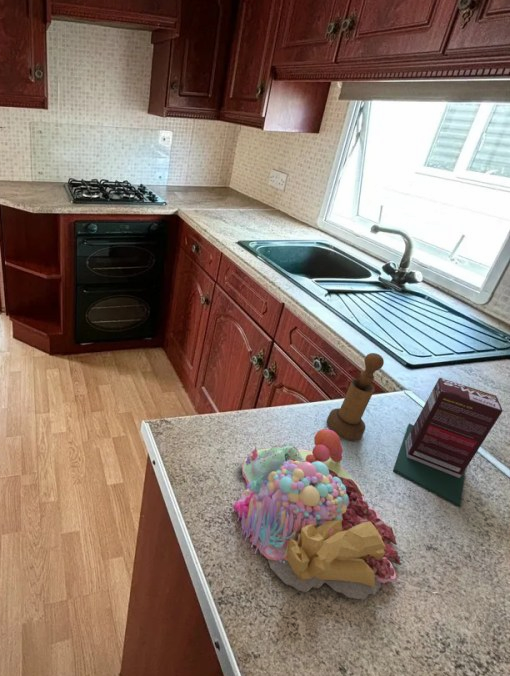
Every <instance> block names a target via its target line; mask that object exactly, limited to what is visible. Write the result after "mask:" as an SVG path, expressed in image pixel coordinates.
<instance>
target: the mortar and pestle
mask: <svg viewBox="0 0 510 676" xmlns="http://www.w3.org/2000/svg"><path fill="white" fill-rule="evenodd" d="M384 363H385V361H384V357H383V356H382V355H380V354H379V353H376V352H370V353H368V354H367V355H365V357H364V366H365V369H364V370H363V371H361V372H360V374H359V378H354V379H351V382H350V385H349V387H348V389H347V392H346V394H345V397H344V399H343V401H342V402H341V405H340V408H339V407H337V408H333V409H331V410H330V412H329V413H328V417H327V419H326V426H327V427H328V429H329V430H332V431H334V432H335V433H337V435H338V436H339V438H340V439H343V440H345V441H349V442H356V441H359V440H361V439H362V437H363V435H364V434H365V431H366V423H365V422H364V420H363V419H362V418H363V415H364V413H365V411H366V409H367V407H368V404H369V402H370V401H371V398H372V396H373V395H374V392H375V390H376V389H375V386H374V385H373V384H372V382H373V381H374V379H375V376H374V373H376V372H377V371H379V370H380V369H382V368H383V366H384Z"/></svg>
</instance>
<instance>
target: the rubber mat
mask: <svg viewBox="0 0 510 676" xmlns="http://www.w3.org/2000/svg"><path fill="white" fill-rule="evenodd" d="M413 426H414V424H411V423H408V425H407V427H406V431H405V433H404V437H403V439H402V443H401V445H400V447H399V451H398V454H397V456H396V457H397V458H396V460H395V464H394V466H393V469H392V472H394V473H396V474H398V475H399V476H402V477H403V478H405V479H407V480H408V481H410V482H412V483H414V484H416V485H417V486H419V487H421V488H424V489H425V490H427V491H428V492H431V493H433V494H435V495H436V496H437V497H440V498H442V499H443V500H445V501H447V502H449V503H451V504H452V505H454V506H457V507H458V508H460V507H461V506H462V497H463V491H464V482H465V480H464V479H465V473H466V470H465V471H464V473H463V474H462V475H461V477H460V478H458V477H455V476H453V475H450V474H448V473H445V472H443V471H440V470H438V469H435V468H433V467H430V466H428V465H425V464H423V463H420V462H418V461H415V460H413V459H410V458H407V454H406V444H405V441H406V439H407V437H408V435H409V433H410V432H411V430H412V428H413Z"/></svg>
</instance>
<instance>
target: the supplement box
mask: <svg viewBox="0 0 510 676" xmlns="http://www.w3.org/2000/svg"><path fill="white" fill-rule="evenodd" d="M501 405H502V404H501V403H500V401H499V398H498V396H497V395H495V394H492V393H489V392H486V391H483V390H480V389H476V388H474V387H470V386H467V385H464V384H461V383H458V382H455V381H452V380H448V379H446V378H442V377H438V379H437V381H436V383H435V385H434V387H433V389H432V391H431V392H430V394H429V396H428V398H427V400H426V402H425V403H424V405H423V407H422V409H421V411H420V412H419V415H418V417H417V419H416V420H415V422H414V424H413V425H414V426H413V428H412V430H411V432H410V433H409V435H408V437H407V439H406V441H405V444H406V454H407V458H410V459H413V460H415V461H418V462H420V463H423V464H425V465H428V466H430V467H433V468H435V469H438V470H440V471H443V472H445V473H448V474H450V475H453V476H455V477H458V478H460V477H461V475H462V474H463V473H464V471H465V472H466V469H467V468H468V466H469V465H470V463H471V462H472V460H473V458H474V457H475V456H476V454H477V452H478V451H479V449H480V447H481V446H482V444H483V443H484V441H485V440H486V438H487V437H488V435H489V433H490V432H491V430H492V429H493V427H494V426H495V424H496V422H497V421H498V420H499V418H500V416H501V414H502V413H503V412H504V411H503V409H502V406H501Z"/></svg>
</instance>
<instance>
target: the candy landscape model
mask: <svg viewBox="0 0 510 676" xmlns="http://www.w3.org/2000/svg"><path fill="white" fill-rule="evenodd" d="M313 442H314V445H315V446H314V447H313V448H312V451H311V450H310V449H309V450H308V449H303V448H296V446H295V445H293V444H292V443H286V444H276V445H273V446H272V447H266V448H259V449H257V446H255V447H254V450H252V452H251V454H250V455H248V456H247V457H246V458H245V459H244V460H243V462H242V466H241V474H242V477H243V479H244V480H245V483H246V486H245V489H244V491H242V492H241V495H240V497H239V498H238V499H237V502H235V503H234V504H233V511H235V513H237V514H238V516H237V522H239V520H240V518H241V521H240V525H241V527H240V528H241V529H242V530H241V532H240V535H241V536H245V539H244V542H245V543H246V542H247V540H248V539H249V543H251V545H250V549H253V547H254V546H255V547H256V548H255V551H254V553H253V554H254V555H256V554H257V553H258V551H259V554H262V556H264V557H265V558H266V559H267V563H268V564H269V567H270V569H271V570H272V572H274V573H275V575H276V576H277V577H278V578H279V579H280V580H281V581H282V582H283V583H284V584H286V585H287V586H292V587H293V588H294V589H295V590H297V591H299V592H304V593H307V592H309V591H310V590H311V589H312V588H315V589H316V588H317V589H320V588H321V587H322V586H323V585H324V584H327V585H328V586H329V587H330V588H331V589H332V590H333V591H334V592H337V593H341V594H343V596H345V597H347V598H350V599H351V598H352V599H356V600H363V601H364V600H365V599H366V598H367V597H368V595H376V594H377V592H378V591H379V589H381V588H382V584H386V583H388V582H389V583H393V582H395V579H396V578H397V573H396V571H395V568H394V566H393V564H396V565H398V566H401V561H400V557H399V554H398V551H397V550H396V548H394V547H393V545H392V544H394V545H396V546H397V545H398V543H397V540H396V537H395V534H394V531H393V528H392V526H388V524H386V523H385V522H384V521H383V520H382V518H381V516H380V514H379V512H377V510H375V509H374V508H372V507H371V506H370V505H369V504H368V502H366V501H365V499H366V498H365V491H363V489H362V488H361V487H360V485H359V484H358V482H357V481H356V480H355V479H354V478H353V477H352V476H351V475H350V473H349V472H348V471H347V470H346V468H345V467H343V466H342V465H341V462H342V460H343V453H344V448H343V446H342V442H341V438H340V437H339V436H338V435H337V433H335V432H334V431H332V430H330V429H329V428H322V429H319V430H318V431H317V432H316V433H315V435H314V437H313ZM391 543H392V544H391ZM392 563H393V564H392Z"/></svg>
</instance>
